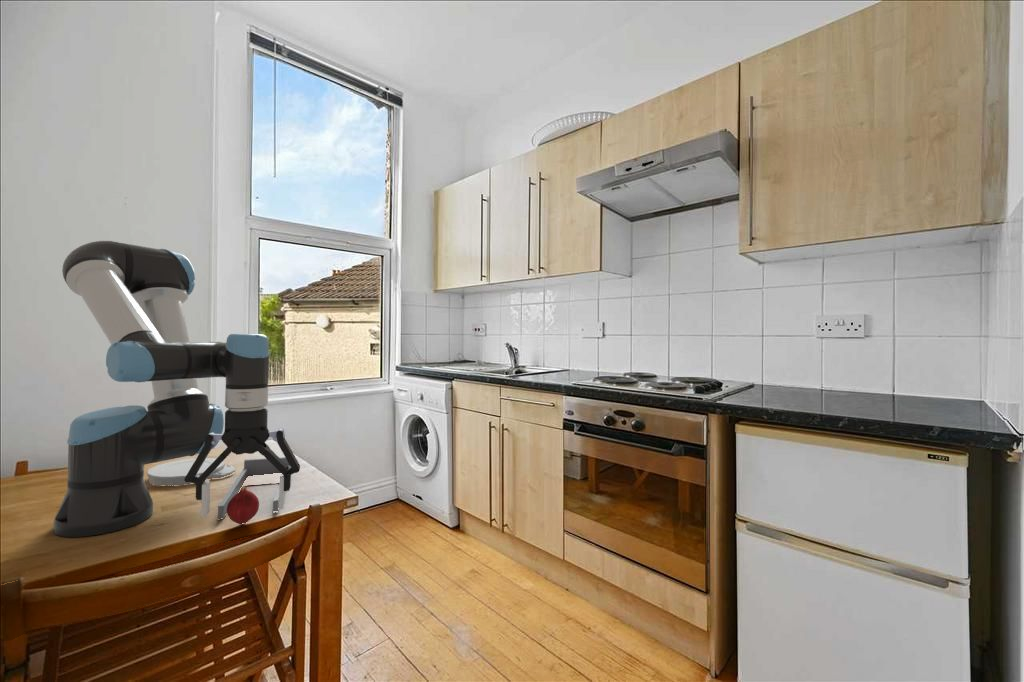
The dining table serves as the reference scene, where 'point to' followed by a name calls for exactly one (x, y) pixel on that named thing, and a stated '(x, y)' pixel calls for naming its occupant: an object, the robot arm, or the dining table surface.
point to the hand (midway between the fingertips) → (244, 510)
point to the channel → (251, 469)
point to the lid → (184, 471)
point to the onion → (242, 506)
